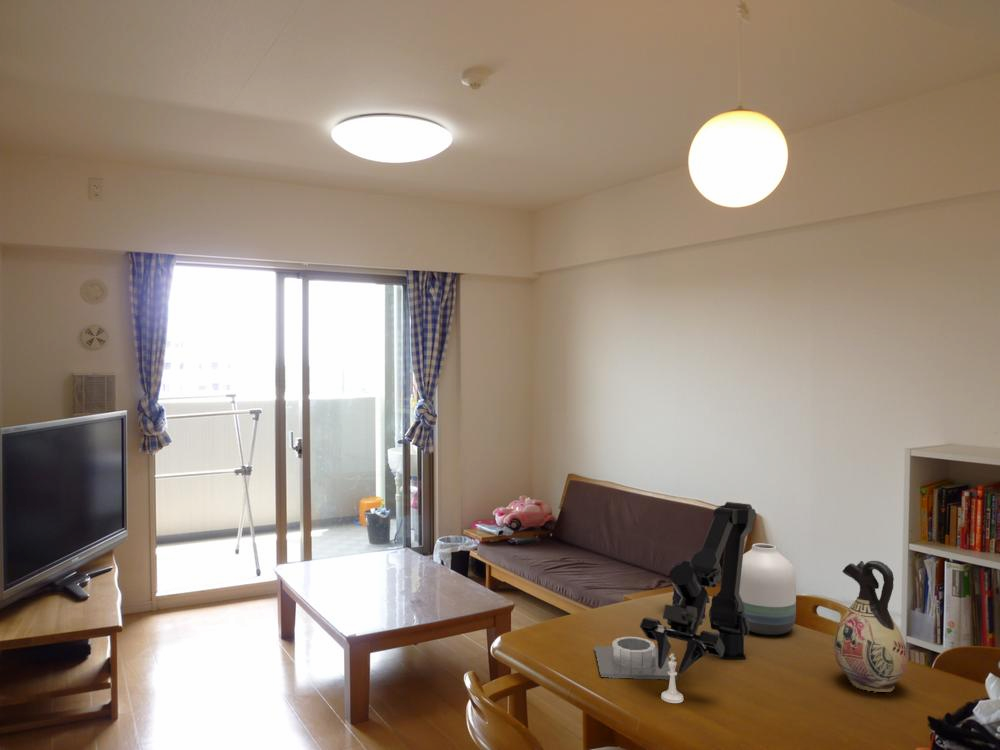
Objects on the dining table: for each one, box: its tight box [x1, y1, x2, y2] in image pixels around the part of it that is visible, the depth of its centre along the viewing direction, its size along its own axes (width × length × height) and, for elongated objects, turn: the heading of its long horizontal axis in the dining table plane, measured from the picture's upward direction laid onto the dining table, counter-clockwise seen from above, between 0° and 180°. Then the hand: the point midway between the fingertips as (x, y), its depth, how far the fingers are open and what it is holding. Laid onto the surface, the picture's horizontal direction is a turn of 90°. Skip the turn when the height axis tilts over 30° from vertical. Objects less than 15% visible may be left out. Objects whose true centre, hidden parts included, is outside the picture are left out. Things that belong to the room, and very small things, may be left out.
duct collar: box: [594, 636, 678, 681], centre depth 179 cm, size 18×18×5 cm
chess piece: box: [660, 652, 684, 704], centre depth 160 cm, size 5×5×10 cm
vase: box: [739, 543, 797, 636], centre depth 205 cm, size 17×17×24 cm
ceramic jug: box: [833, 560, 908, 693], centre depth 166 cm, size 17×15×30 cm
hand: (669, 670), depth 159 cm, fingers open, 5 cm apart
